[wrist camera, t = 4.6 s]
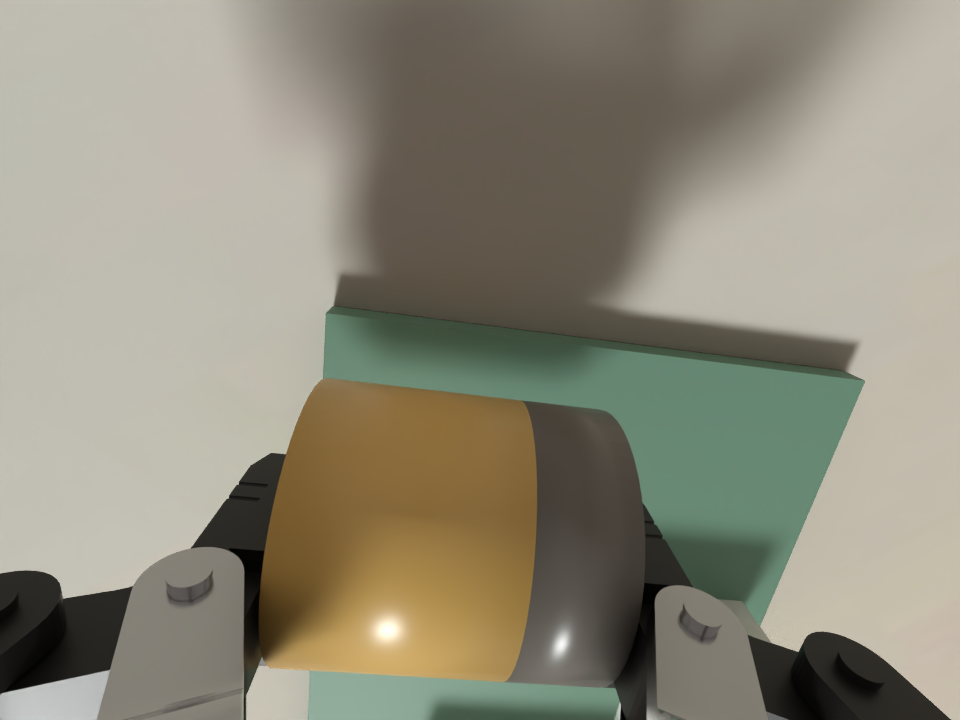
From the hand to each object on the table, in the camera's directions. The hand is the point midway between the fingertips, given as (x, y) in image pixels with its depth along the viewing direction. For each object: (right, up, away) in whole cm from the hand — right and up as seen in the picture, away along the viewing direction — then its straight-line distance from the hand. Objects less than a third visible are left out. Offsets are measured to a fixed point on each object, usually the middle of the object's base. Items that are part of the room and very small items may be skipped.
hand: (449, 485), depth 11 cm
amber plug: (0, 0, +1) cm, 1 cm away
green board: (+3, -5, +6) cm, 8 cm away
